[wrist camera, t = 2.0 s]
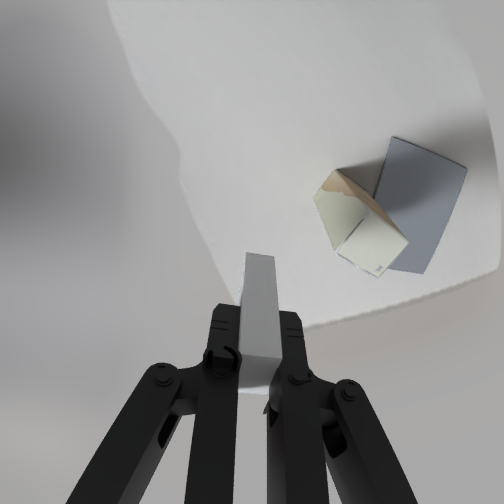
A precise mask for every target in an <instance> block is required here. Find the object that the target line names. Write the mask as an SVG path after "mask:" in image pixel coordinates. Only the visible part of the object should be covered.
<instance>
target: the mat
mask: <svg viewBox="0 0 504 504" xmlns="http://www.w3.org/2000/svg"><path fill="white" fill-rule="evenodd" d="M466 172H467V169H466V168H464V167H462V166H460V165H458V164H455V163H453V162H451V161H449V160H447V159H445V158H443V157H441V156H438V155H436V154H434V153H431V152H429V151H427V150H424V149H422V148H420V147H417V146H415V145H412V144H410V143H407V142H405V141H402V140H399V139H397V138H394V137H392V138H391V142H390V145H389V149H388V153H387V156H386V160H385V163H384V166H383V170H382V173H381V176H380V179H379V183H378V186H377V189H376V192H375V195H374V198H373V199H374V200H375V201H376V203H377V204H378V205H379V206H380V207H381V208H382V209H383V211H384V212H385V213H386V214H387V215H388V216H389V218H390V219H391V220H392V221H393V222H394V224H395V225H396V226H397V227H398V228H399V230H400V231H401V232H402V233H403V234H404V236H405V237H406V238H407V239H408V241H409V244H408V245H407V246H406V247H405V249H404V250H403V251H402V252H401V254H400V255H399V256H398V257H397V258H396V260H395V261H394V262H393V263H392V264H391V265H390V266H389V267H388V269H393V270H399V271H406V272H412V273H419V274H423V273H424V271H425V269H426V267H427V265H428V263H429V261H430V259H431V257H432V255H433V253H434V251H435V249H436V247H437V245H438V243H439V241H440V238H441V236H442V234H443V232H444V229H445V227H446V225H447V223H448V220H449V218H450V215H451V213H452V210H453V208H454V205H455V203H456V200H457V198H458V195H459V192H460V190H461V187H462V184H463V181H464V178H465V175H466Z"/></svg>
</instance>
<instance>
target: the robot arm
mask: <svg viewBox="0 0 504 504" xmlns="http://www.w3.org/2000/svg"><path fill="white" fill-rule="evenodd" d="M268 391H269V401H268V402H267V405H266V407H265V409H264V412H263V414H266V412H267V504H329V494H328V483H327V471H326V463H327V466H328V468H329V471H330V474H331V476H332V479H333V482H334V484H335V487H336V489H337V492H338V495H339V497H340V499H341V502H342V504H418V503H417V500H416V498H415V496H414V493H413V491H412V489H411V487H410V485H409V482H408V480H407V478H406V476H405V474H404V471H403V469H402V467H401V465H400V463H399V461H398V459H397V457H396V454H395V452H394V451H393V448H392V446H391V444H390V442H389V440H388V438H387V436H386V434H385V432H384V430H383V428H382V426H381V424H380V422H379V419H378V418H377V416H376V414H375V411H374V410H373V408H372V406H371V404H370V402H369V400H368V398H367V396H366V394H365V392H364V390H363V388H362V387H361V386H360V384H358V383H357V382H355V381H353V380H350V379H343V380H341V381H339V382H337V384H334V383H331V382H328V381H324V380H322V379H320V378H318V377H317V376H315V375H314V374H313V372H312V371H311V370H310V369H309V367H308V362H307V355H306V349H305V341H304V335H303V328H302V322H301V319H300V318H299V316H298V315H297V313H296V312H288V311H279V307H278V294H277V283H276V271H275V260H274V256H268V255H261V254H254V253H247V252H246V255H245V261H244V266H243V272H242V278H241V283H240V289H239V298H238V306H235V305H227V304H220V303H219V304H218V305H217V306H216V308H215V309H214V310H213V314H212V320H211V326H210V332H209V338H208V343H207V349H206V350H205V352H204V354H203V361H202V362H201V363H199V364H198V365H196V366H194V367H190V368H184V369H177V368H176V367H175V366H173V365H171V364H168V363H156V364H154V365H152V366H150V367H149V368H148V369H147V370H146V372H145V373H144V375H143V377H142V378H141V380H140V381H139V383H138V385H137V386H136V388H135V389H134V391H133V392H132V394H131V396H130V397H129V399H128V400H127V402H126V403H125V405H124V407H123V408H122V410H121V411H120V413H119V415H118V416H117V418H116V420H115V421H114V423H113V425H112V426H111V428H110V429H109V431H108V433H107V434H106V436H105V437H104V439H103V441H102V442H101V444H100V446H99V447H98V449H97V451H96V452H95V454H94V456H93V458H92V459H91V461H90V462H89V464H88V466H87V467H86V469H85V471H84V473H83V474H82V476H81V478H80V479H79V481H78V483H77V484H76V486H75V488H74V490H73V492H72V493H71V495H70V497H69V498H68V500H67V502H66V504H139V502H140V500H141V498H142V496H143V494H144V492H145V490H146V488H147V486H148V484H149V482H150V480H151V478H152V476H153V474H154V472H155V470H156V468H157V466H158V464H159V462H160V460H161V458H162V456H163V454H164V452H165V450H166V448H167V446H168V444H169V442H170V440H171V438H172V435H173V433H174V431H175V429H176V427H177V425H178V423H179V421H180V419H181V417H182V416H183V415H190V414H195V421H194V429H193V436H192V444H191V451H190V459H189V467H188V475H187V483H186V493H185V501H184V504H233V487H234V465H235V444H236V443H235V442H236V424H237V405H238V392H241V393H252V394H264V395H267V393H268Z"/></svg>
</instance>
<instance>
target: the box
mask: <svg viewBox="0 0 504 504" xmlns="http://www.w3.org/2000/svg"><path fill="white" fill-rule="evenodd" d="M313 200H314V202H315V204H316V207H317V209H318V212H319V214H320V217H321V219H322V222H323V224H324V226H325V229H326V232H327V234H328V237H329V239H330V242H331V244H332V247H333V250H334V253H335V254H336V255H337V256H339V257H341V258H342V259H344V260H346V261H347V262H349V263H351V264H352V265H354V266H356V267H357V268H359V269H361V270H362V271H364V272H366V273H368V274H369V275H371V276H373V277H375V278H376V279H378V278H379V277H380V276H381V275H382V274H383V273H384V272H385V271H386V270H387V269H388V267H389V266H390V265H391V264H392V263H393V262H394V261H395V260H396V258H397V257H398V256H399V255H400V254H401V252H402V251H403V250H404V249H405V247H406V246H407V245H408V244H409V241H408V239H407V238H406V237H405V236H404V234H403V233H402V232H401V231H400V230H399V228H398V227H397V226H396V225H395V224H394V222H393V221H392V220H391V219H390V218H389V216H388V215H387V214H386V213H385V212H384V211H383V209H382V208H381V207H380V206H379V205H378V204H377V203H376V201H375V200H374V199H373V198H372V197H371V196H370V195H369V194H368V193H367V192H366V191H365V190H364V189H362V188H361V187H360V186H358V185H357V184H356V183H354V182H353V181H352V180H350V179H349V178H347V177H346V176H344V175H343V174H341V173H340V172H339V171H337V170H334V171H333V172H332V174H331V175H330V176H329V177H328V179H327V180H326V181H325V183H324V184H323V186H322V187H321V188H320V190H319V191H318V193H317V194H316V195H315V197H314V199H313Z"/></svg>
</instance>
